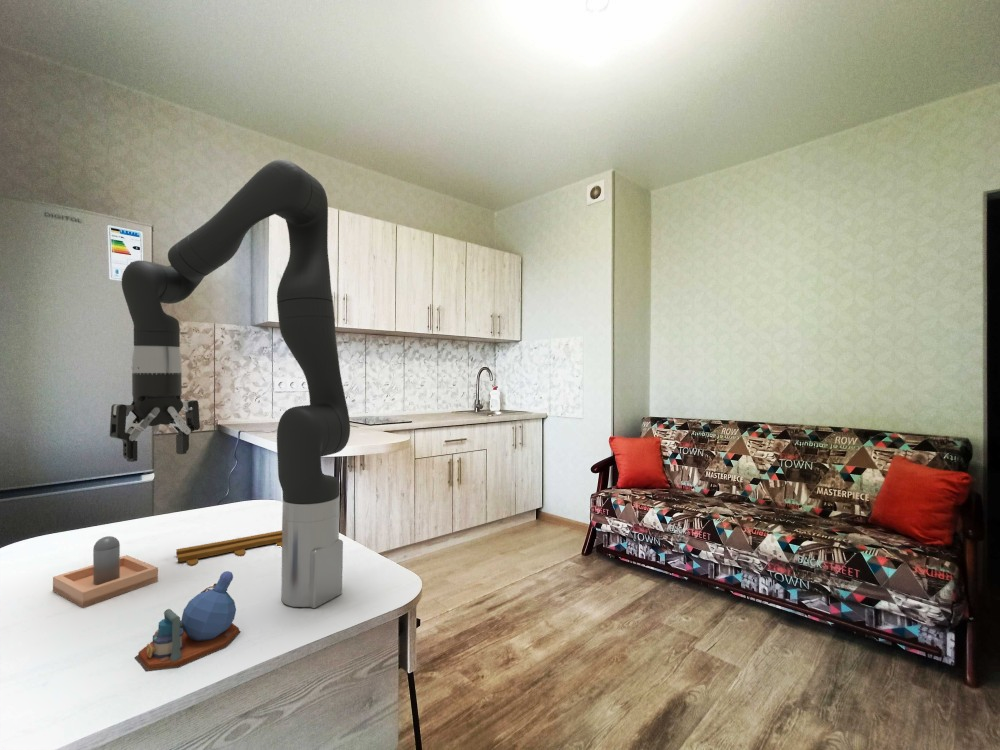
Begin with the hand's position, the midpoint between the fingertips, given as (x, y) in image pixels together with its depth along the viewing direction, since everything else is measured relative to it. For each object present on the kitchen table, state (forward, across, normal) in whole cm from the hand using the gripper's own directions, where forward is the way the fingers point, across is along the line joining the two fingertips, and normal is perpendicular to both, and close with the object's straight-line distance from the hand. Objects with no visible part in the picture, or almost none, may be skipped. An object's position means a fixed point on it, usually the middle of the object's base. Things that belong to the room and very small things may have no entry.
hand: (157, 457), depth 89 cm
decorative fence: (+23, +17, -2) cm, 28 cm away
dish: (+22, -7, +3) cm, 23 cm away
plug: (+21, -7, +3) cm, 22 cm away
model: (+23, -10, -28) cm, 37 cm away
